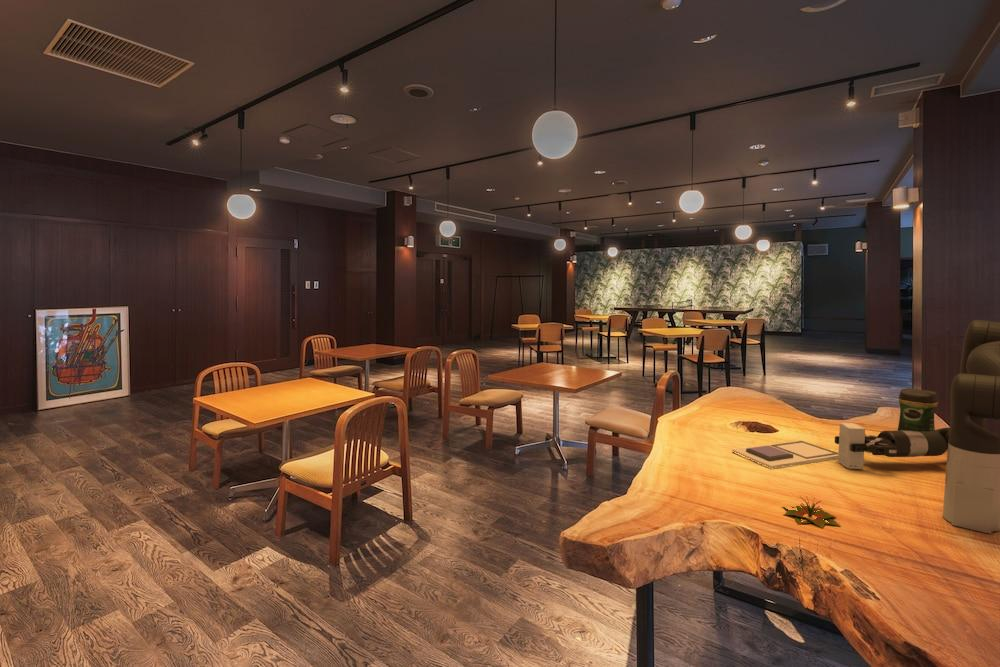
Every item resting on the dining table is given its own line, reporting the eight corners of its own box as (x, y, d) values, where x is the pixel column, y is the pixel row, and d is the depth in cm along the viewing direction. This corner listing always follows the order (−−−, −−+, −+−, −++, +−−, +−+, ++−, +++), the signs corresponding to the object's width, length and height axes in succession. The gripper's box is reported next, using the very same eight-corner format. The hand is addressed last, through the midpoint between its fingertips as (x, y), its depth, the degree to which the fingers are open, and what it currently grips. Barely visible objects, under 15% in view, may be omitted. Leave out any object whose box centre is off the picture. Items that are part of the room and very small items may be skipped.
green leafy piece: (793, 529, 108) (794, 509, 107) (771, 505, 119) (772, 487, 119) (852, 533, 106) (854, 513, 105) (825, 508, 117) (826, 490, 117)
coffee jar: (938, 446, 158) (943, 390, 157) (928, 451, 154) (932, 393, 153) (902, 439, 167) (906, 385, 165) (891, 443, 163) (895, 388, 161)
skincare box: (863, 469, 140) (866, 428, 139) (847, 468, 141) (849, 428, 139) (853, 462, 146) (855, 423, 144) (837, 461, 146) (839, 422, 145)
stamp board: (800, 443, 164) (800, 436, 164) (843, 458, 149) (843, 451, 149) (732, 452, 155) (732, 445, 155) (771, 469, 141) (771, 461, 141)
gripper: (884, 424, 149) (828, 424, 149) (923, 438, 134) (860, 438, 135) (883, 448, 149) (827, 448, 150) (921, 465, 135) (859, 465, 136)
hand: (843, 443), depth 143 cm, fingers closed on skincare box, 6 cm apart
